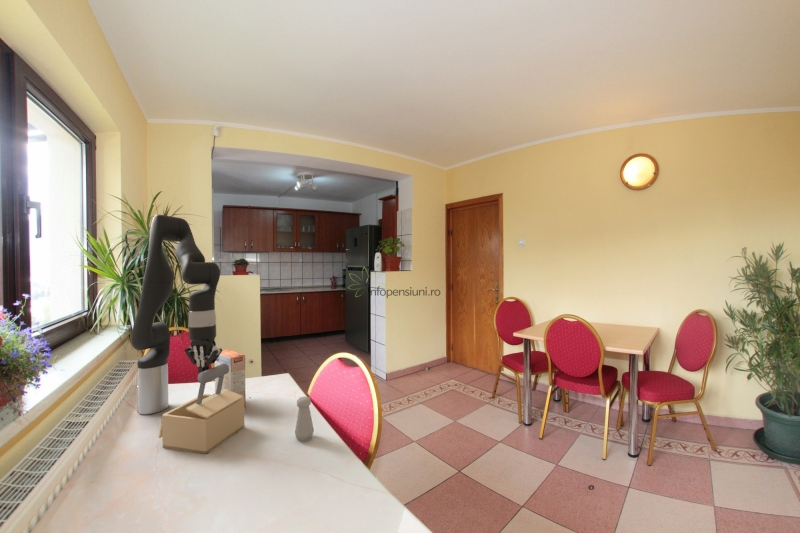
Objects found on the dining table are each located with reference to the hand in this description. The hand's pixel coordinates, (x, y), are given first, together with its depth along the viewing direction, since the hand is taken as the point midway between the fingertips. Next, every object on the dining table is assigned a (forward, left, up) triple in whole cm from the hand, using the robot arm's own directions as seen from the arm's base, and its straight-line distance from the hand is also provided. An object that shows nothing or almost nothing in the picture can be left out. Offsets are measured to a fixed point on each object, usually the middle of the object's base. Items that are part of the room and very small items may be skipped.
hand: (203, 377), depth 104 cm
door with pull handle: (+4, 0, -8) cm, 9 cm away
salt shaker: (+32, +6, -20) cm, 38 cm away
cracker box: (-9, +21, -20) cm, 30 cm away
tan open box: (-1, 0, -19) cm, 19 cm away
